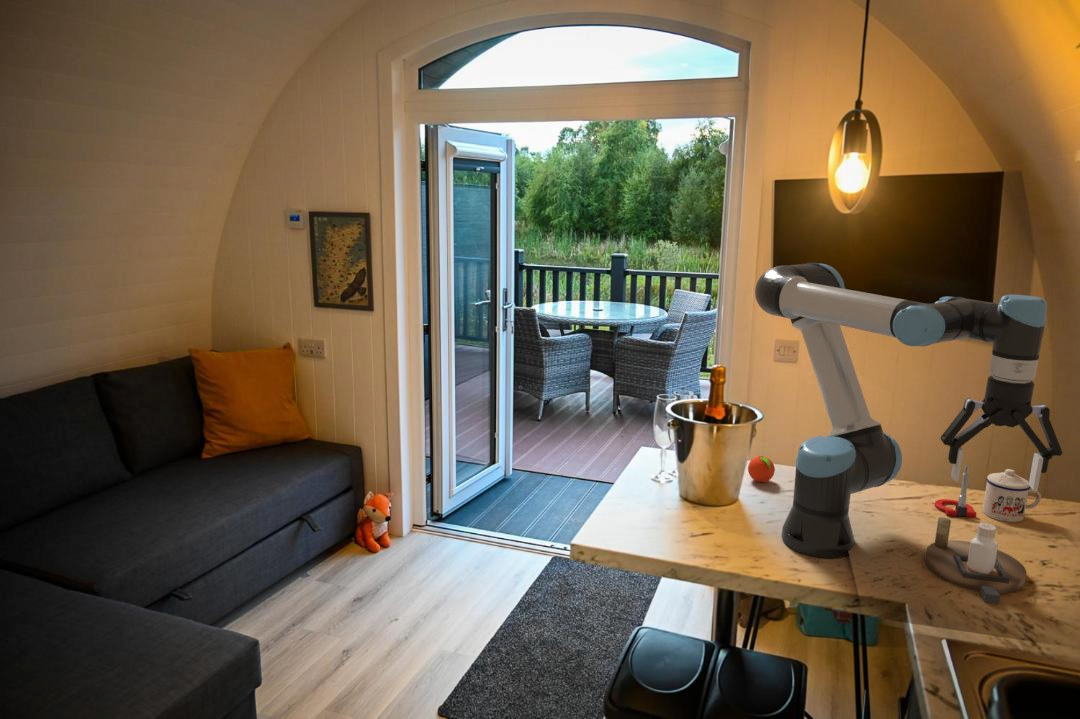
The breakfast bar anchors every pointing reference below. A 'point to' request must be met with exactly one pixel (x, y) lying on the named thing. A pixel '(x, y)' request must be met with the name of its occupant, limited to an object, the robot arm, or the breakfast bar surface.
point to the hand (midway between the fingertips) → (993, 483)
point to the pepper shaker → (983, 549)
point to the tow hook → (961, 506)
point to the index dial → (952, 564)
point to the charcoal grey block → (990, 595)
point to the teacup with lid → (1007, 496)
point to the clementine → (761, 469)
